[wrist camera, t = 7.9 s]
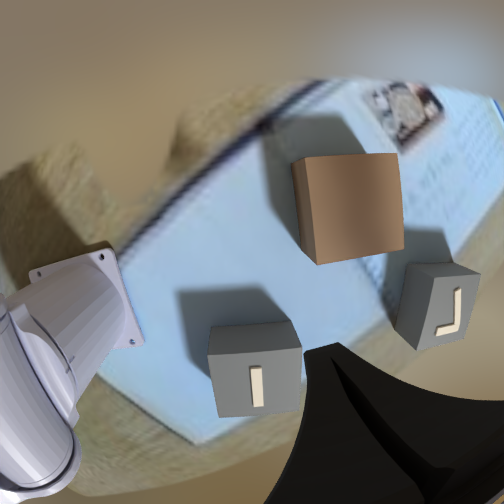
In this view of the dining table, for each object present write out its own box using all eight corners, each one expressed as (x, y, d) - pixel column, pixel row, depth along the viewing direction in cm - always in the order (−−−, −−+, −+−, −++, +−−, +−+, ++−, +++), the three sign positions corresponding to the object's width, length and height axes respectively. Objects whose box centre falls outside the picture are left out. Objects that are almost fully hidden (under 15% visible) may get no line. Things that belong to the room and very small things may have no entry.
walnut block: (300, 249, 19) (316, 265, 15) (290, 163, 18) (304, 157, 14) (375, 237, 19) (404, 249, 16) (368, 158, 18) (397, 153, 14)
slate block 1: (220, 385, 22) (218, 419, 17) (211, 325, 20) (206, 356, 16) (290, 379, 22) (299, 412, 18) (290, 319, 20) (303, 349, 16)
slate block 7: (393, 328, 21) (417, 352, 17) (405, 263, 20) (436, 278, 16) (439, 320, 22) (464, 339, 18) (452, 261, 20) (482, 274, 16)
